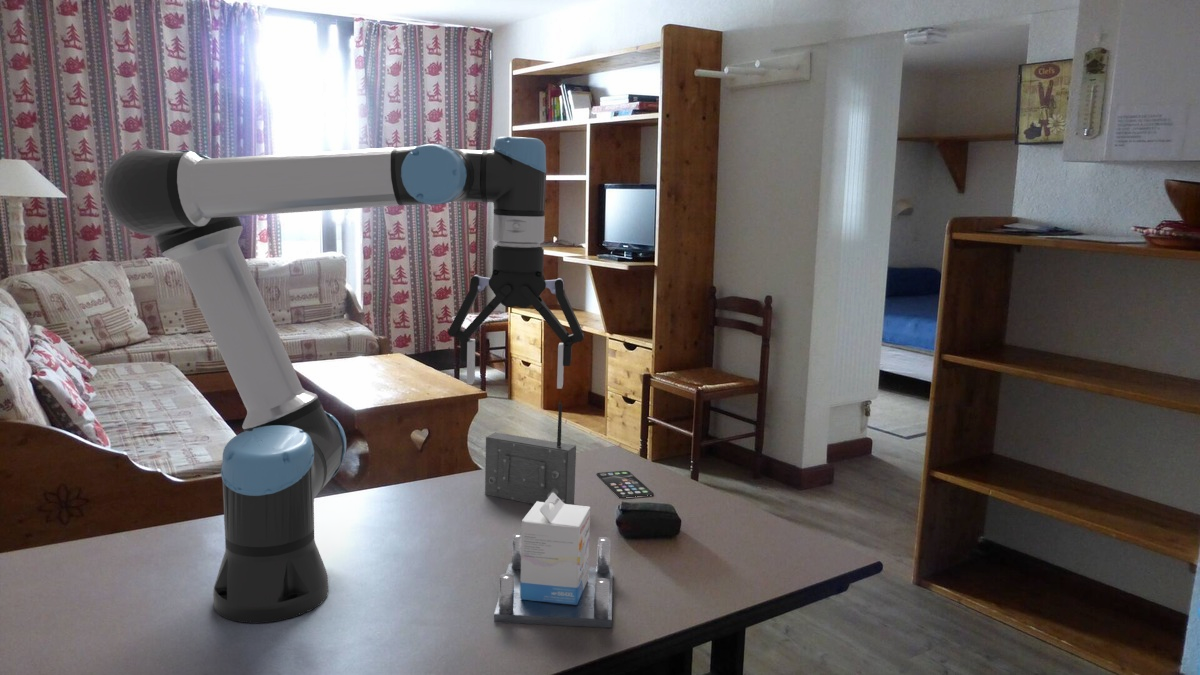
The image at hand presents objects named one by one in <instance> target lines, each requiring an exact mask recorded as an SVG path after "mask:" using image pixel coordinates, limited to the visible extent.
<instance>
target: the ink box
mask: <svg viewBox="0 0 1200 675" xmlns="http://www.w3.org/2000/svg"><path fill="white" fill-rule="evenodd" d="M591 507H592V506H589V505H588V506H585V505H577V504H573V505H570V504H565V503H563V502H562V501H561V500H560V499H559V498H558V496H557V495H556V494H555V493H551V495H550V496H549V497H548V499H547V500H546V501H545V502H539V501H537V502H536V503H535V504H533V506H531V509H529V511H528V512H527V513H526V514H525V516H524V517H523V518H522V520H521V533H522V541H521V581H520V597H521V600H532V601H542V602H552V603H561V604H572V605H577V604H578V601H579V599H580V597H581V595H582V592H583V590H584V588H585V585H586V583H587V581H588V567H589V562H590V560H589V558H590V557H589V555H590V553H589V552H590V532H591V531H590V528H591V525H590V524H591Z"/></svg>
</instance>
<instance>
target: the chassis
mask: <svg viewBox="0 0 1200 675" xmlns="http://www.w3.org/2000/svg"><path fill="white" fill-rule="evenodd" d="M521 541H522V532H514V533H513V534H511V562H509V563H508V565H507V569H506V571H505V572H506V573H501V574H500V575H499V578H498V579H499V580H498V581H499V582H498V584H499V585H498V599H497V603H496V606H495V610H494V613H493V623H503V624H504V623H507V624H525V625H526V624H527V625H547V626H563V627H564V626H566V627H567V626H569V627H586V628H606V629H607V628H610V629H611V628H612V620H613V619H612V617H613V616H612V615H613V576H614V575H613V573H614V568H613V567H611V566H610V565H611V564H610V563H611V543H612V540H611V538H610V537H607V536H599V537H597V544H596V545H597V546H596V547H597V548H596V566H588V581H587V583H586V585H585V588H584V590H583V592H582V595H581V597H580V599H579V601H578V604H577V605H572V604H561V603H552V602H542V601H532V600H521V597H520V581H521Z"/></svg>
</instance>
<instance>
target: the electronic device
mask: <svg viewBox="0 0 1200 675" xmlns="http://www.w3.org/2000/svg"><path fill="white" fill-rule="evenodd" d="M562 412H563V403H562V402H560V401H559V403H558V417H557V438H556V441H552V440H545V439H540V438H533V437H528V436H527V437H526V436H519V435H514V434H509V433H502V432H497V431H496V432H493V433H492V434H489V435H487V436H486V437H485V472H484V473H485V475H484V476H485V477H484V479H485V480H484V485H485V486H484V495H485V496H486V495H487V496H493V497H496V498H501V499H506V500H511V501H517V502H522V503H526V504H532V505H534V504H535V503H536V502H537V501H539V502H545V501H546V500H547V499H548V497H549V496H550V495H551V493H555V494H556V495H557V496H558V498H559V499H560V500H561V501H562V502H563V503H565V504H570V505H575V492H576V491H575V489H576V486H575V485H576V462H577V445H576V444H569V443H565V442H564V443H563V442H562V415H563V413H562Z"/></svg>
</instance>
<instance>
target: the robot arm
mask: <svg viewBox="0 0 1200 675" xmlns="http://www.w3.org/2000/svg"><path fill="white" fill-rule="evenodd" d="M546 151H547V147H546V144H545V143H544V142H543V140H541V139H539V138H535V137H527V136H526V137H522V136H499V137H497V138H495V141H494V145H493V148H492V149H483V150H479V149H463V148H462V149H461V148H452V147H450V146H448V145H444V144H442V143H436V142H435V143H432V142H431V143H430V142H429V143H423V144H420V145H415V146H414V145H413V146H412V145H411V146H400V147H381V148H380V147H379V148H364V149H363V148H362V149H348V150H333V151H331V150H330V151H316V152H315V151H314V152H300V153H299V152H298V153H283V154H282V153H280V154H267V155H264V154H263V155H248V156H233V157H231V156H230V157H217V158H216V157H214V158H212V157H209V156H206V155H204V154H201V153H199V152H195V151H191V150H182V149H181V150H162V149H154V148H153V149H152V148H142V149H135V150H132V151H128V152H126V153H124V154H122V155H121V156H119V157H118V158H117V159H115V160H114V161H113V162H112V164H111V165H110V166H109V168H108V169H107V170H106V173H105V175H104V177H103V182H102V197H103V201H104V204H105V206H106V208H107V209H108V212H109V213H110V214H111V216H112V217H113V218H114V219H115V221H117V222H118V223H119V224H120V225H121V226H123V227H124V228H126V229H127V230H130V231H132V232H134V233H136V234H141V235H144V236H152V237H154V240H155V242H156V245H158V247H159V250H160V252H161V255H162V256H163V257H165V258H167V259H169V260H172V261H174V262H176V263H178V265H179V266H180V269H181V271H182V273H183V276H184V277H185V279H186V282H187V284H188V286H189V288H190V290H191V293H192V295H193V297H194V299H195V301H196V303H197V305H198V308H199V310H200V312H201V314H202V317H203V319H204V321H205V323H206V325H207V327H208V329H209V331H210V334H211V336H212V338H213V340H214V343H215V344H216V347H217V349H218V351H219V353H220V355H221V357H222V359H223V361H224V364H225V366H226V368H227V370H228V372H229V375H230V376H231V379H232V381H233V384H234V385H235V387H236V389H237V392H238V393H239V394H238V395H239V397H240V398H241V401H242V403H243V406H244V408H245V409H246V416H245V418H244V420H243V423H242V426H241V427H242V429H243V432H242V431H241V433H239V434H236V435H235V436H233V437H232V438H230V440H228V442H227V443H226V445H225V446H224V448H223V451H222V462H221V468H220V474H221V480H222V497H223V498H222V500H223V504H222V505H223V520H224V522H223V523H224V539H225V541H224V542H225V543H224V544H225V549H224V554H223V557H222V559H221V563H220V566H219V569H218V573H217V576H216V580H215V583H214V585H213V593H212V596H213V607H214V610H215V612H217V613H218V614H219V615H220V617H221V616H222V617H223V618H225V619H228V620H231V621H235V622H240V623H255V624H256V623H272V622H278V621H283V620H287V619H291V618H295V617H297V616H301V615H302V614H306V613H308V612H310V611H311V610H313V609H315V608H316V607H318V606H320V605H321V604H322V603H323V602H324V600H325V599H327V596H328V595H329V576H328V571H327V569H326V567H325V564H324V561H323V559H322V556H321V554H320V552H319V549H318V546H317V544H316V541H315V503H314V502H315V498H316V497H317V496H318V494H319V493H320V492H321V491H322V490H323V489H324V487H325V486H327V484H328V482H330V481H331V480H332V479H333V478H334V477H335V476H336V475H337V473H338V472H339V470H340V468H341V466H342V464H343V462H344V459H345V456H346V452H347V437H346V433H345V431H344V428H343V426H342V425H341V423H340V422H339V420H338V419H337V418H336V417H335V416H334V415H332V413H329V412H327V411H326V410H324V407H323V405H322V403H321V401H320V399H319V396H318V394H317V393H313V392H311V391H308V390H306V389H305V388H304V387H303V386H302V384H301V381H300V379H299V377H298V375H297V372H296V370H295V368H294V365H293V364H292V361H291V358H290V357H289V354H288V352H287V351H286V348H285V346H284V343H283V341H282V339H281V337H280V334H279V332H278V329H277V328H276V325H275V323H274V321H273V319H272V316H271V314H270V312H269V309H268V307H267V305H266V302H265V300H264V298H263V296H262V294H261V292H260V289H259V287H258V285H257V283H256V280H255V278H254V276H253V274H252V271H251V270H250V267H249V265H248V262H247V260H246V258H245V256H244V254H243V251H242V248H241V247H240V244H239V239H240V237H241V234H242V232H243V230H244V227H243V225H242V223H241V220H240V219H239V217H244V216H245V217H246V216H260V215H261V216H262V215H274V214H289V213H291V214H292V213H304V212H318V211H319V212H320V211H322V212H323V211H337V210H338V211H339V210H350V209H351V210H354V209H366V208H367V209H368V208H381V207H396V206H419V205H420V206H421V205H427V206H428V205H429V206H437V205H444V204H448V203H452V202H457V203H459V202H460V203H461V202H464V203H465V202H469V203H492V204H493V224H492V226H493V229H492V231H493V232H492V240H493V241H494V242H496V245H494V246H493V247H492V273H491V276H490V277H486V276H485V277H484V276H481V275H480V274H475V275H472V277H471V278H470V284H469V288H468V289H469V290H468V292H467V293H466V296H465V298H464V300H463V302H462V304H461V305H460V307H459V309H458V311H457V313H456V315H455V317H454V319H453V321H452V323H451V324H450V326H449V328H448V331H447V334H448V336H449V337H452V338H453V337H454V338H456V339H458V341H459V343H460V344H459V346H460V348H459V350H460V351H459V352H460V353H459V358H460V361H461V362H463V363H464V362H465V363H466V385H471V386H472V385H473V384H474V382H475V381H476V380H475V378H476V374H475V373H476V339H475V338H471V336H472V335H474V333H475V332H476V331H477V330H478V329H479V327H481V325H482V324H483V323H484V322H485V321H486V320H487V319H488V318H489V316H490V315H491V314H492V313H493V312H494V311H495V310H496V309H497V308H498V306H499V305H500V304H502V305H503V306H504V307H506V308H515V307H517V308H520V309H528V308H529V307H530V308H531V307H533V308H534V309H535V311H536V312H538V313H539V315H540V316H541V317H542V318H543V320H544V321H545V323H546V324H547V325H548V326H549V327H550V328H551V330H552V331H553V332H554V334H555V335H556V336H557V337H558V338H559V340H560V341H561V342H559V343H558V345H557V346H558V347H557V372H556V374H557V376H556V377H557V378H556V389H559V390H560V389H561V390H562V389H563V385H564V368H565V367H570V366H571V363H572V352H573V349H572V348H573V345H574V344H577V343H580V342H582V341H583V340H584V337H585V333H584V331H583V329H582V327H581V324H580V322H579V320H578V318H577V316H576V313H575V312H574V309H573V307H572V305H571V303H570V301H569V299H568V296H567V294H566V291H565V280H564V278H561V277H558V278H557V279H546V278H545V276H544V262H545V261H544V257H545V254H544V253H545V251H544V250H545V249H544V248H543V246H541V244H543V243H544V242H545V227H546V226H545V225H546V224H545V223H546V222H545V221H546V218H545V217H546V216H545V213H546V212H545V210H546V188H547V152H546ZM487 286H489V288H490V289H491V291H492V292H493V294H494V297H493V298H492V299H491V300H490V302H488V304H487V305H486V306H485V307H484V308H483V309H482V310H481V312H480V313H479V314H478V315H477V316H476V317H475V318H474V319H473V320H472V321H471V323H469V325H468V326H467V327H466V328H465V329H463V328H461V327H462V326H463V324H464V322H465V320H466V319H467V316H468V314H469V313H470V310H471V309H472V307H473V305H474V303H475V301H476V299H477V297H478V295H479V293H480V292H482V291H483V290H484V289H485V288H486V287H487ZM545 289H549V291H550V293H551V294H553V295H555V296H556V300H557V302H558V305H559V306H560V309H561V310H562V313H563V315H564V318H565V319H566V321H567V323H568V326H569V329H570V330H571V332H572V333H571V334H570V333H569V332H568V331H567V329H566V328H565V326H564V325H563V324H562V323H561V322H560V321H559V319H558V318H557V317H556V316H555V314H554V312H552V310H551V308H549V307H548V305H547V304H546V302H545V301H544V300H543V298H542V297H541V295H542V293H543V292H544V291H545ZM564 366H565V367H564Z"/></svg>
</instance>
